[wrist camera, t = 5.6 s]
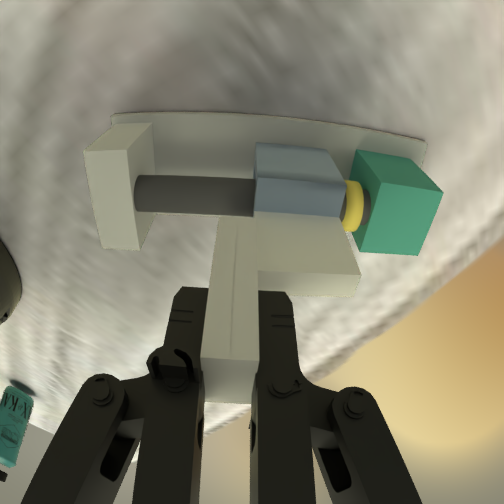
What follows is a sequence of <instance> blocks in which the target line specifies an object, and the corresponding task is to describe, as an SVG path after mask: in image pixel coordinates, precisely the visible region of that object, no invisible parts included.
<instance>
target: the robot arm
mask: <svg viewBox="0 0 504 504" xmlns="http://www.w3.org/2000/svg"><path fill="white" fill-rule="evenodd" d="M20 297H21V282H20V278H19V275H18V272H17V269H16V267H15V265H14V262H13V260H12V259H11V257H10V255H9V253H8V252H7V250H6V248H5V247H4V245H3V244H2V242H1V241H0V325H1V324H2V323H3V322H5V321H6V320H7V319H8V318H9V317H10V316H11V314H12V313H13V311H14V309H15V307H16V306H17V304H18V302H19V300H20ZM146 364H147V367H148V370H149V374H147V375H145V376H142V377H139V378H134V379H128V380H121V381H119V379H117V378H116V377H114V376H113V375H109V374H104V373H103V374H96V375H94V376H92V377H90V378H88V379H87V380H86V382H85V383H84V384H83V385H82V387H81V389H80V390H79V392H78V394H77V396H76V397H75V399H74V401H73V403H72V404H71V406H70V408H69V410H68V411H67V413H66V415H65V417H64V419H63V420H62V422H61V424H60V426H59V428H58V430H57V432H56V433H55V435H54V437H53V439H52V441H51V443H50V445H49V447H48V449H47V451H46V452H45V454H44V456H43V458H42V460H41V462H40V464H39V466H38V468H37V470H36V472H35V474H34V476H33V478H32V480H31V483H30V485H29V487H28V489H27V491H26V493H25V495H24V497H23V500H22V502H21V504H113V502H114V500H115V497H116V495H117V493H118V490H119V488H120V486H121V483H122V481H123V479H124V476H125V474H126V472H127V470H128V467H129V465H130V463H131V460H132V458H133V456H134V454H135V451H136V449H137V447H138V445H139V442H140V448H139V454H138V461H137V468H136V476H135V483H134V492H133V501H132V504H199V491H200V474H201V458H202V444H203V430H204V402H218V403H236V404H251V413H252V414H251V420H250V424H249V429H250V504H316V497H315V496H316V495H315V481H314V468H313V456H312V448H313V451H314V454H315V456H316V459H317V462H318V465H319V467H320V470H321V473H322V476H323V478H324V481H325V484H326V487H327V489H328V492H329V495H330V498H331V500H332V503H333V504H422V502H421V499H420V497H419V495H418V492H417V490H416V488H415V485H414V483H413V481H412V479H411V476H410V474H409V472H408V470H407V467H406V465H405V463H404V460H403V458H402V456H401V454H400V452H399V449H398V447H397V445H396V443H395V441H394V439H393V436H392V434H391V432H390V430H389V428H388V426H387V424H386V421H385V419H384V417H383V415H382V413H381V411H380V409H379V407H378V404H377V402H376V400H375V399H374V398H373V396H372V395H371V393H369V392H368V391H366V390H365V389H363V388H359V387H346V388H344V389H342V390H341V391H339V392H336V391H332V390H329V389H325V388H321V387H319V386H316V385H314V384H312V383H311V382H309V381H308V380H307V379H306V378H305V377H304V376H303V374H302V372H301V370H300V366H299V359H298V350H297V341H296V332H295V323H294V314H293V305H292V302H291V300H290V299H289V297H288V296H287V294H286V292H284V291H263V290H258V265H257V220H256V218H248V217H232V216H219V222H218V228H217V235H216V242H215V248H214V255H213V262H212V269H211V277H210V284H209V288H198V287H184V286H182V288H181V289H180V290H179V291H178V293H177V294H176V295H175V296H174V299H173V303H172V308H171V312H170V317H169V322H168V326H167V330H166V335H165V340H164V345H163V346H162V347H159V348H157V349H156V350H155V351H153V352H152V353H151V354H150V355H149V358H148V360H147V362H146ZM140 440H141V441H140Z"/></svg>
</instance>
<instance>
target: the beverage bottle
mask: <svg viewBox="0 0 504 504" xmlns="http://www.w3.org/2000/svg"><path fill="white" fill-rule="evenodd" d="M4 391H5V392H4V394H3V395H2V400H0V401H1V402H0V463H1V464H2V465H4V466H7V467H9V468H10V467H13V466H15V465H16V460H17V457H18V453H19V449H20V446H21V443H22V439H23V436H24V433H25V430H26V426H27V423H28V422H29V421H28V420H29V419H30V418H29V417H30V416H31V415H30V414H31V413H32V412H31V410H32V407H33V405H34V401H33V399H32V398H31V397H30V396H29V395H27V394H26V393H24V392H23V391H21V390H19V389H17V388H15V387H12V386H7V387H6V389H5V390H4ZM6 477H7V473H5V472H3V471H1V470H0V481H3V482H5V480H6Z"/></svg>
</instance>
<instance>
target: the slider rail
mask: <svg viewBox="0 0 504 504" xmlns="http://www.w3.org/2000/svg"><path fill="white" fill-rule="evenodd" d="M111 125H112V127H111V128H110V129H109V130H107V131H106V132H105V133H104V134H103V135H101V136H100V137H99V138H98V139H97V140H96V141H94V142H93V143H92V144H91V145H90V146H89V147H87V148H86V149H85V150H84V151H83V156H84V162H85V168H86V174H87V180H88V186H89V191H90V196H91V201H92V206H93V211H94V216H95V221H96V225H97V229H98V234H99V238H100V242H101V246H102V248H103V249H119V250H136V251H140V249H141V247H142V245H143V242H144V240H145V237H146V235H147V233H148V230H149V228H150V226H151V223H152V221H153V219H154V216H155V214H159V215H183V216H204V217H219V216H232V217H248V218H250V217H253V210H254V200H255V189H256V179H253V170H254V159H255V147H256V142H258V143H271V144H282V145H293V146H302V147H312V148H320V149H326V150H327V151H328V153H329V155H330V156H331V158H332V160H333V162H334V163H335V165H336V167H337V169H338V170H339V172H340V174H341V176H342V177H343V179H344V181H345V183H346V184H347V188H346V192H345V196H344V200H343V204H342V208H341V212H340V216H339V218H340V221H341V223H342V226H343V228H344V231H350V232H352V235H353V237H354V239H355V242H356V244H357V247H358V249H359V252H369V253H385V254H400V255H416V256H418V254H419V252H420V249H421V247H422V245H423V243H424V240H425V238H426V236H427V233H428V231H429V229H430V226H431V224H432V221H433V219H434V216H435V214H436V211H437V209H438V206H439V204H440V201H441V198H442V196H443V192H442V190H441V189H440V188H439V187H438V186H437V185H436V184H435V183H434V182H433V181H432V180H431V179H430V178H429V177H428V176H427V175H426V174H425V173H424V172H423V171H422V170H421V165H422V162H423V159H424V155H425V152H426V148H427V145H428V144H427V143H426V142H425V141H423V140H419V139H414V138H410V137H406V136H401V135H397V134H392V133H387V132H382V131H377V130H372V129H366V128H361V127H355V126H349V125H343V124H336V123H329V122H322V121H315V120H307V119H298V118H289V117H279V116H268V115H255V114H240V113H219V112H141V113H121V114H114V115H112V116H111Z"/></svg>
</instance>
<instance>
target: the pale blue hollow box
mask: <svg viewBox="0 0 504 504" xmlns="http://www.w3.org/2000/svg"><path fill="white" fill-rule="evenodd" d="M253 179H256V189H255V200H254V210H253V217H250V218H256V220H257V265H258V290H263V291H284V292H286V294H287V295H292V296H323V297H353V295H354V293H355V290H356V288H357V285H358V283H359V280H360V278H361V272H360V270H359V267H358V264H357V262H356V259H355V256H354V254H353V251H352V248H351V246H350V243H349V241H348V238H347V236H346V233H345V231H344V228H343V226H342V223H341V221H340V218H339V216H340V212H341V208H342V204H343V200H344V196H345V192H346V188H347V184H346V183H345V181H344V179H343V177H342V176H341V174H340V172H339V170H338V169H337V167H336V165H335V163H334V162H333V160H332V158H331V156H330V155H329V153H328V151H327V150H326V149H320V148H312V147H302V146H293V145H282V144H271V143H258V142H256V147H255V159H254V170H253Z"/></svg>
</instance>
